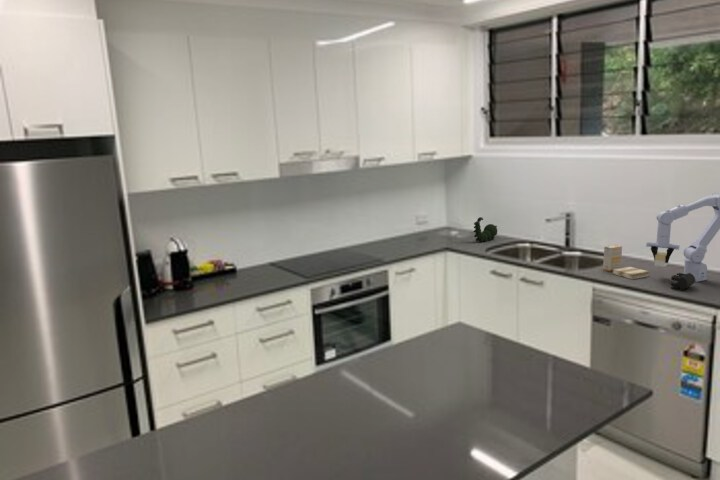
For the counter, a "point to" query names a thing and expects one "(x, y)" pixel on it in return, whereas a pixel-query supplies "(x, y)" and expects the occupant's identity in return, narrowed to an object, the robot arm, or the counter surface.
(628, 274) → the stand
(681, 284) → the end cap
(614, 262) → the supplement box
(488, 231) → the toy figurine
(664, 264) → the block
